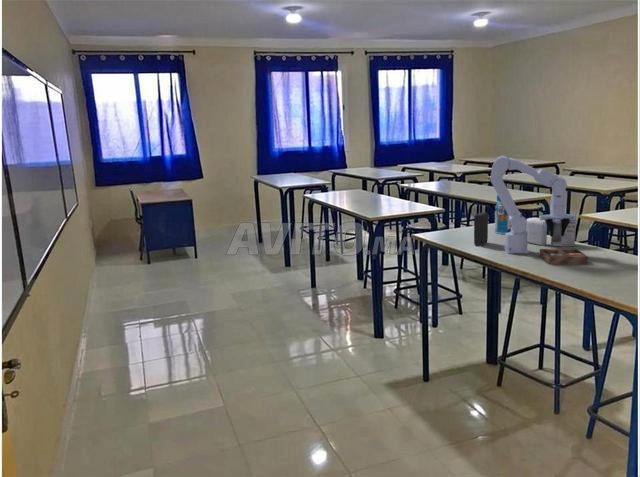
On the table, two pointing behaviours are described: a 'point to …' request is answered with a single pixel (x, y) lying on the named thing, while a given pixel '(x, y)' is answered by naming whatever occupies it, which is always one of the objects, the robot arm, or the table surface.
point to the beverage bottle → (501, 219)
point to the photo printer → (536, 231)
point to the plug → (557, 232)
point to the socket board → (563, 256)
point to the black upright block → (481, 228)
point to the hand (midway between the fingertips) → (556, 235)
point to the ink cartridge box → (567, 235)
